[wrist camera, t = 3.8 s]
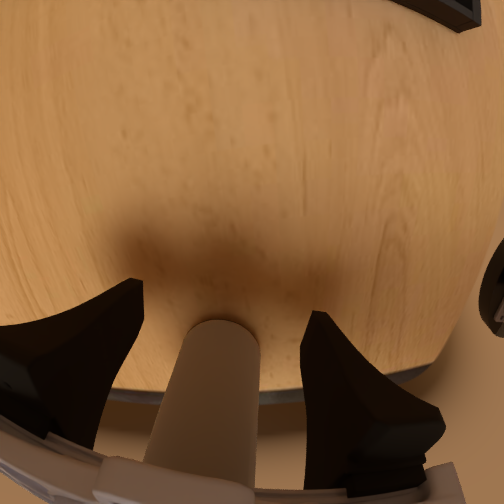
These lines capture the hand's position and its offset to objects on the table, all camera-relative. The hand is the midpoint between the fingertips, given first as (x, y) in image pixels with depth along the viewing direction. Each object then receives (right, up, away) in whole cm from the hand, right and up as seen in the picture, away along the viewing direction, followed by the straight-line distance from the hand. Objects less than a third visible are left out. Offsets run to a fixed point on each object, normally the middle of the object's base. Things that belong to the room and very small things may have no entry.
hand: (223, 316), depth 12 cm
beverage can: (-1, -3, +6) cm, 7 cm away
